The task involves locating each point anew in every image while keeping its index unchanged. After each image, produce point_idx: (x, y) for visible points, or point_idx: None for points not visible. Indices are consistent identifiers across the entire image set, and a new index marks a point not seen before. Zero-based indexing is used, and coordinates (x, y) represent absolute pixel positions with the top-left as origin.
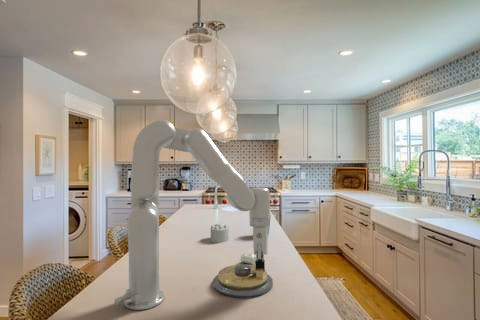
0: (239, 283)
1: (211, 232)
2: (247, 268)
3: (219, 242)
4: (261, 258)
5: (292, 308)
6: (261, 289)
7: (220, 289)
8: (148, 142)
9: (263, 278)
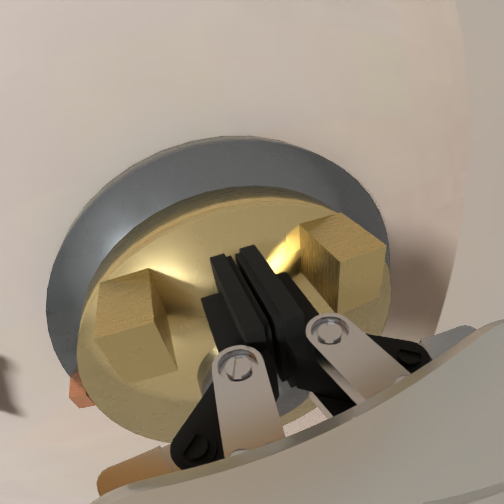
0: (386, 312)
1: None
2: None
3: None
4: (412, 347)
5: (431, 30)
6: (350, 192)
7: None
8: None
9: (328, 213)
